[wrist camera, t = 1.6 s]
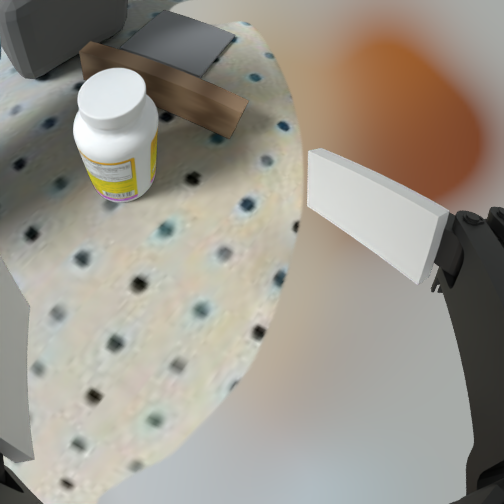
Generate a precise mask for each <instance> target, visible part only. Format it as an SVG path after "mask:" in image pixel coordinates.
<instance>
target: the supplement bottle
mask: <svg viewBox="0 0 504 504" xmlns="http://www.w3.org/2000/svg"><path fill="white" fill-rule="evenodd" d="M78 106H79V111H78V112H77V115H76V117H75V120H74V125H73V134H74V139H75V142H76V145H77V147H78V150H79V152H80V155H81V157H82V160H83V162H84V165H85V167H86V170H87V172H88V174H89V177H90V179H91V181H92V184H93V186H94V188H95V189H96V191H97V192H98V193H99V194H100V195H101V196H102V197H104V198H105V199H107V200H110V201H113V202H129V201H132V200H135V199H137V198H139V197H140V196H142V195H143V194H144V193H145V192H146V191H147V190H148V189H149V188H150V186H151V185H152V183H153V181H154V178H155V173H156V156H157V133H158V112H157V108H156V106H155V104H154V102H153V100H152V99H151V98H150V97H149V96H148V95H146V85H145V82H144V80H143V78H142V77H141V76H140V75H139V74H138V73H136V72H135V71H132V70H130V69H126V68H111V69H106V70H103V71H101V72H98V73H96V74H95V75H93V76H91V77H90V78H89V79H88V80H87V81H86V82H85V83H84V84H83V85H82V87H81V89H80V91H79V94H78Z"/></svg>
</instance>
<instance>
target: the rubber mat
mask: <svg viewBox="0 0 504 504" xmlns="http://www.w3.org/2000/svg"><path fill="white" fill-rule="evenodd" d="M234 37H235V34H232V33H230V32H227V31H225V30H222V29H220V28H217V27H214V26H212V25H209V24H206V23H203V22H201V21H198V20H195V19H192V18H189V17H186V16H183V15H180V14H177V13H173V12H170V11H167V10H163V11H162V12H161V13H160V14H158V15H157V16H156V17H155V18H153V19H152V20H151V21H150V22H148V23H147V24H146V25H145V26H144V27H142V28H141V29H140V30H139V31H138V32H137V33H135V34H134V35H133V36H132V37H131V38H130V39H129V40H128V41H127V42H125V43H124V44H123V45H122V46H121V47H120V50H123V51H126V52H129V53H132V54H135V55H138V56H141V57H144V58H147V59H150V60H153V61H156V62H159V63H161V64H164V65H167V66H169V67H172V68H175V69H177V70H180V71H182V72H185V73H187V74H190V75H192V76H195V77H197V78H201V77H202V75H203V74H204V73H205V72H206V70H207V69H208V68H209V67H210V65H211V64H212V63H213V62H214V61H215V59H216V58H217V57H218V56H219V55H220V53H221V52H222V51H223V50H224V49H225V48H226V46H227V45H228V44H229V43H230V42H231V41H232V40H233V39H234Z"/></svg>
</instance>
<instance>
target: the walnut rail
mask: <svg viewBox="0 0 504 504" xmlns="http://www.w3.org/2000/svg"><path fill="white" fill-rule="evenodd" d="M79 54H80V60H81V66H82V72H83V78H84V80H86V81H87V80H88V79H89V78H90V77H91V76H93V75H95V74H96V73H98V72H101V71H103V70H106V69H111V68H126V69H130V70H132V71H135V72H136V73H138V74H139V75H140V76H141V77H142V78H143V80H144V82H145V85H146V95H148V96H149V97H150V98H151V99H152V100H153V102H154V104H155V106H156V107H158V108H161V109H163V110H165V111H168V112H170V113H172V114H175V115H177V116H179V117H182V118H184V119H186V120H189V121H191V122H193V123H195V124H197V125H200V126H202V127H204V128H206V129H208V130H211V131H213V132H215V133H217V134H219V135H221V136H223V137H225V138H228V139H230V137H231V135H232V133H233V132H234V130H235V128H236V126H237V124H238V122H239V120H240V118H241V116H242V114H243V112H244V110H245V108H246V106H247V104H248V102H249V101H248V100H246V99H244V98H242V97H240V96H238V95H236V94H234V93H232V92H229V91H227V90H225V89H223V88H221V87H218V86H216V85H214V84H211V83H209V82H207V81H204V80H202V79H200V78H197V77H195V76H192V75H190V74H187V73H185V72H182V71H180V70H177V69H175V68H172V67H169V66H167V65H164V64H161V63H159V62H156V61H153V60H150V59H147V58H144V57H141V56H138V55H135V54H132V53H129V52H126V51H123V50H120V49H116V48H113V47H109V46H106V45H102V44H99V43H95V42H91V41H90V42H89V43H88V44H87V45H86V46H84V47H83V48H82V49H81V50H80V51H79Z"/></svg>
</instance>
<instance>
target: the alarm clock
mask: <svg viewBox="0 0 504 504" xmlns="http://www.w3.org/2000/svg"><path fill="white" fill-rule="evenodd" d="M127 3H128V0H0V40H1V46H2V48H3V49H4V51H5V53H6V54H7V56H8V58H9V59H10V61H11V62H12V64H13V66H14V67H15V69H16V70H17V71H18V72H19V73H20V75H21V76H23V77H24V78H28V79H35V78H38V77H40V76H42V75H44V74H46V73H47V72H49V71H50V70H52V69H54V68H55V67H57V66H58V65H60V64H62V63H63V62H65V61H67V60H68V59H70V58H72V57H73V56H75V55H77V54H79V51H80V50H81V49H82V48H83V47H84V46H86V45H87V44H88V43H89V42H90V41H91V42H95V43H99V42H101V41H103V40H105V39H107V38H109V37H111V36H113V35H114V34H116V33H117V32H118V31H120V30H121V29H122V28H123V25H124V23H125V20H126V18H127Z"/></svg>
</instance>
